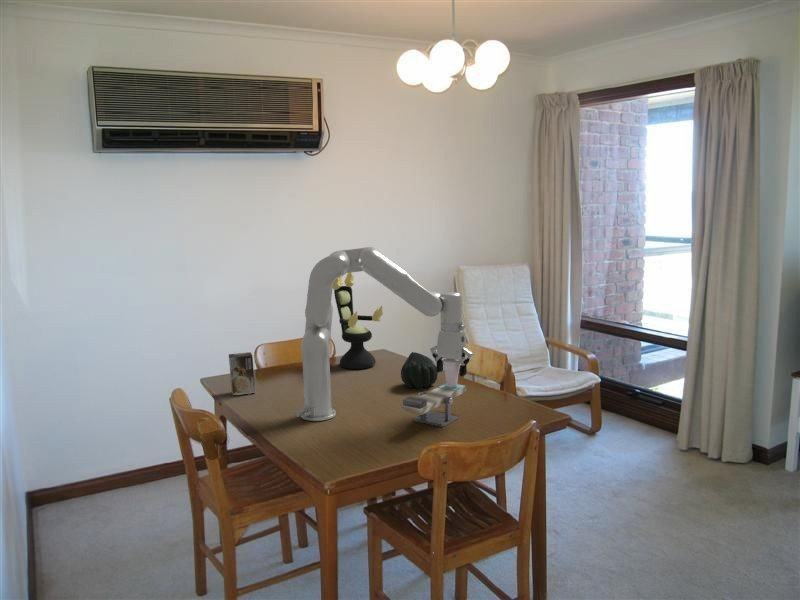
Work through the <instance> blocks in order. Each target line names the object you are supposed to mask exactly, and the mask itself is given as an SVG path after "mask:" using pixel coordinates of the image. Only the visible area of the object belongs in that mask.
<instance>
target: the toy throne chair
mask: <svg viewBox="0 0 800 600" xmlns="http://www.w3.org/2000/svg"><path fill="white" fill-rule="evenodd" d="M342 277H343V276H341V277H338V278H337V279H335V281H334V283H333V288H332V290H333V294H334V299H335V303H336V308H337V312H338V317H339V324H340V326H341V327H340V328H341V339H342V340H343V341H344V342H345V343H346V342H347V343H350V348H349V349H348V350H347V351H346V352H345V353H344V354H343V355H342V356H341V358H340V360H339V365H340V366H341V368H344V369H348V370H363V369H368V368H369V369H370V368H372V367H374V366H375V364H376V363H377V361H376V358H375V357H374V355H373V354H372V353H371V352H370V351H368V350H367V349H366V348H365V347H364V343H365V342H369V341H371V339H372V338H373V334H372V332H371V331H370V330H369V328H366V327H365V326H362V325H357V322H358V321H368V322H369V321H373V322H382V320H381V317H382V316H383V315H384V314H383V313H384V312H383V310H384V309H383V305H381V306H380V307H379V308H376V310H375V311H374V313H373V314H372V315H360V314H359V315H358V311H355V312H354V303H353V302H354V301H353V299H354V298H353V289H352V287H353V286H354V284H355V283H354V278H355V276H354V274H353V272H351V273H346V276H345V279H344V283H343V282H342V281H343V280H342ZM343 284H345V285H343ZM373 365H374V366H373Z"/></svg>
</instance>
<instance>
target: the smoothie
mask: <svg viewBox="0 0 800 600" xmlns="http://www.w3.org/2000/svg"><path fill="white" fill-rule="evenodd" d="M442 360H443V371H444V376H445V384H447V387H449V388H455V387H457V384H458V381H459V374H460V365H461V363H460V362H459V360H455V359H448V358H443V359H442Z"/></svg>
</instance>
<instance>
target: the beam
mask: <svg viewBox="0 0 800 600" xmlns="http://www.w3.org/2000/svg"><path fill="white" fill-rule="evenodd" d="M465 392H467V386H466V385H463V384H459V383H457V387H455V388H449V387H447V384H446V383H444V384H442V385H439V386H437V387H436V388H434V389H431V390H429V391H427V392H426V393H425V394H423V395H421V396H419V397H418V396H417V397H415V396H407V397H405V398H403V399H402V404H401V412H405V413H410V414H416V415H418V416H419V415H423V414H424V413H426V412H428V411H433V410H434V409H436V408H438V407H440V406H441V405H443V404H445V398H446V397H451V398H452V399H453V400H454V398H457V397H459V396H460V395H462V394H464V393H465Z"/></svg>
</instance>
